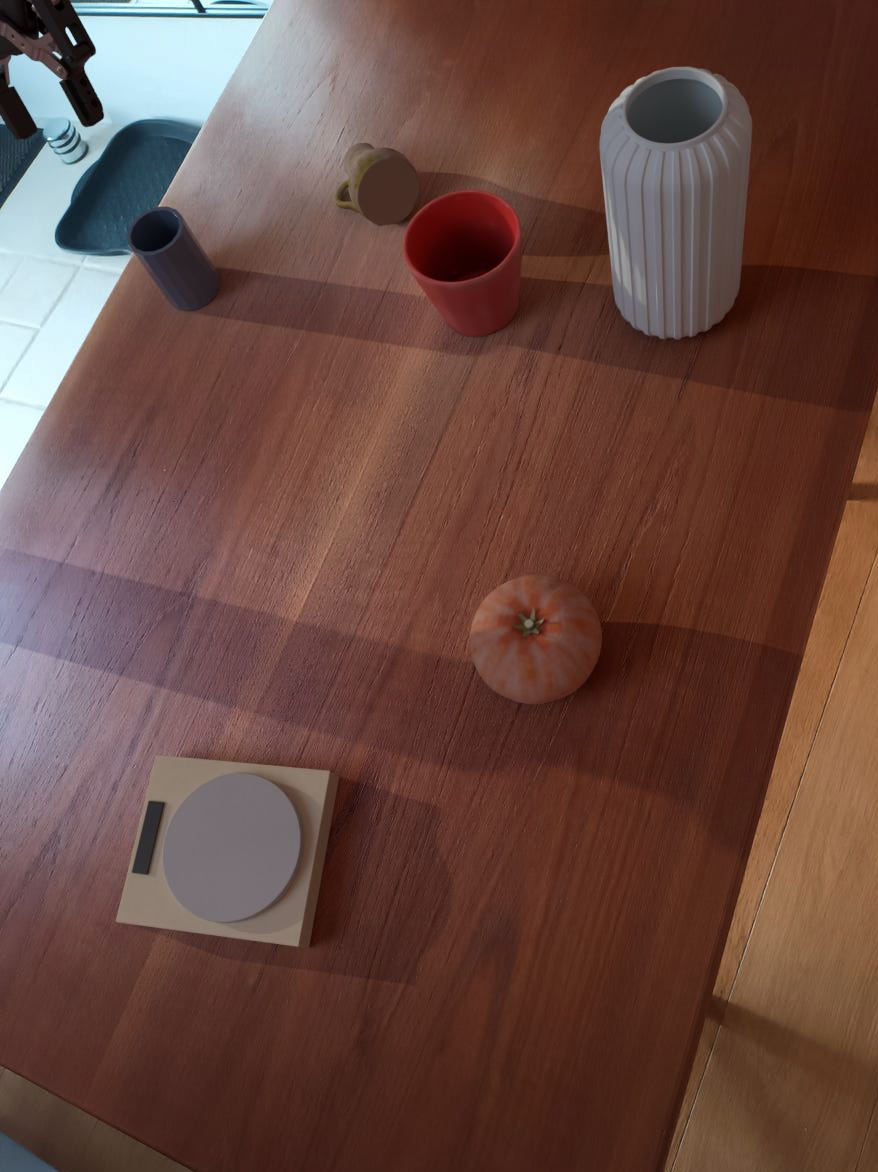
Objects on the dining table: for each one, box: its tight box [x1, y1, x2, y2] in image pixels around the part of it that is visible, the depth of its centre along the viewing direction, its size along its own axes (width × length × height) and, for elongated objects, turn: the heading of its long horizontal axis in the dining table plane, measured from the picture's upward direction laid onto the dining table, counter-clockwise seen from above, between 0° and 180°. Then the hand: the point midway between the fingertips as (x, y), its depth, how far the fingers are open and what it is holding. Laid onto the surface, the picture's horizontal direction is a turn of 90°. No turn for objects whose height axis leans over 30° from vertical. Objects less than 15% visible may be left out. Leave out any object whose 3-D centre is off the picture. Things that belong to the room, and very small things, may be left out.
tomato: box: [468, 574, 603, 705], centre depth 80 cm, size 11×11×8 cm
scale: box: [115, 754, 340, 949], centre depth 82 cm, size 16×14×3 cm
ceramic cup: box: [126, 205, 221, 312], centre depth 102 cm, size 6×6×8 cm
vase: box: [598, 65, 753, 341], centre depth 83 cm, size 12×12×22 cm
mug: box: [333, 142, 421, 227], centre depth 102 cm, size 8×10×10 cm
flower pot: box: [401, 189, 523, 338], centre depth 93 cm, size 11×11×10 cm
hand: (61, 129), depth 85 cm, fingers open, 8 cm apart
